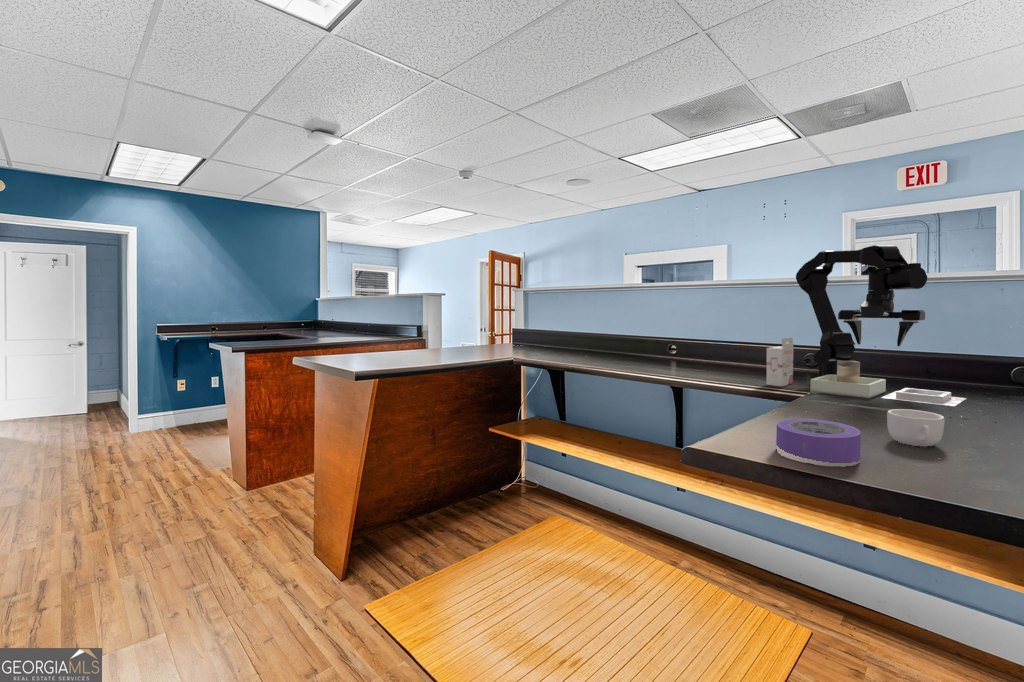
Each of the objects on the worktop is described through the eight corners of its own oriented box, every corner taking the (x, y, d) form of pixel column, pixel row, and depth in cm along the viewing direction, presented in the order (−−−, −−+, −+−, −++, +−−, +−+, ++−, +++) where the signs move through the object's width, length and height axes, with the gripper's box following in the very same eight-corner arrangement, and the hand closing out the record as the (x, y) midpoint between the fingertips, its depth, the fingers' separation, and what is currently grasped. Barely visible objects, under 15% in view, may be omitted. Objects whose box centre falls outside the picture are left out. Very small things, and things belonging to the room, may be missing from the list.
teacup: (880, 435, 88) (881, 407, 88) (932, 440, 85) (933, 411, 85) (898, 451, 79) (899, 419, 79) (957, 456, 76) (959, 424, 75)
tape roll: (843, 473, 69) (844, 441, 69) (763, 454, 79) (763, 425, 78) (871, 457, 76) (872, 427, 76) (794, 442, 86) (794, 415, 85)
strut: (841, 391, 127) (842, 362, 127) (836, 388, 131) (837, 360, 131) (859, 391, 126) (860, 362, 126) (853, 388, 130) (854, 360, 130)
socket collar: (880, 399, 120) (881, 391, 120) (896, 393, 128) (896, 385, 128) (954, 408, 109) (955, 399, 108) (966, 400, 117) (967, 392, 117)
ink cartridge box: (776, 381, 150) (777, 336, 149) (793, 383, 147) (794, 337, 145) (765, 385, 145) (766, 338, 144) (782, 386, 141) (783, 338, 140)
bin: (810, 393, 130) (810, 379, 130) (828, 387, 138) (828, 374, 138) (869, 400, 119) (869, 385, 119) (885, 393, 128) (885, 379, 127)
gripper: (831, 291, 134) (829, 345, 135) (915, 288, 119) (912, 349, 120) (846, 291, 140) (844, 342, 142) (927, 289, 125) (924, 346, 127)
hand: (878, 345), depth 132 cm, fingers open, 9 cm apart
